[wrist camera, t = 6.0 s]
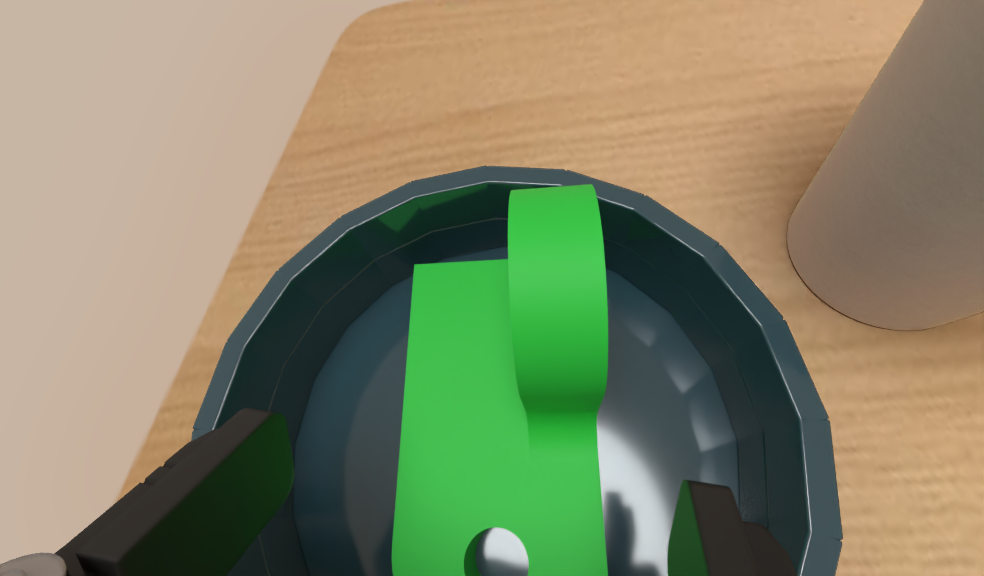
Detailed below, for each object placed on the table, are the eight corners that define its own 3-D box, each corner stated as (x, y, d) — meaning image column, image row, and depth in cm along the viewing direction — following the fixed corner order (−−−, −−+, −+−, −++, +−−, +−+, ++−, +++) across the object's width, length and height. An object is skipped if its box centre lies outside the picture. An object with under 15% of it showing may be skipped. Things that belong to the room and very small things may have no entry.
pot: (215, 670, 15) (68, 744, 11) (353, 228, 21) (297, 156, 17) (772, 823, 12) (897, 1019, 8) (744, 257, 18) (803, 179, 14)
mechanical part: (428, 286, 19) (346, 157, 12) (579, 278, 18) (592, 135, 11) (404, 653, 14) (240, 817, 7) (609, 662, 13) (667, 858, 6)
